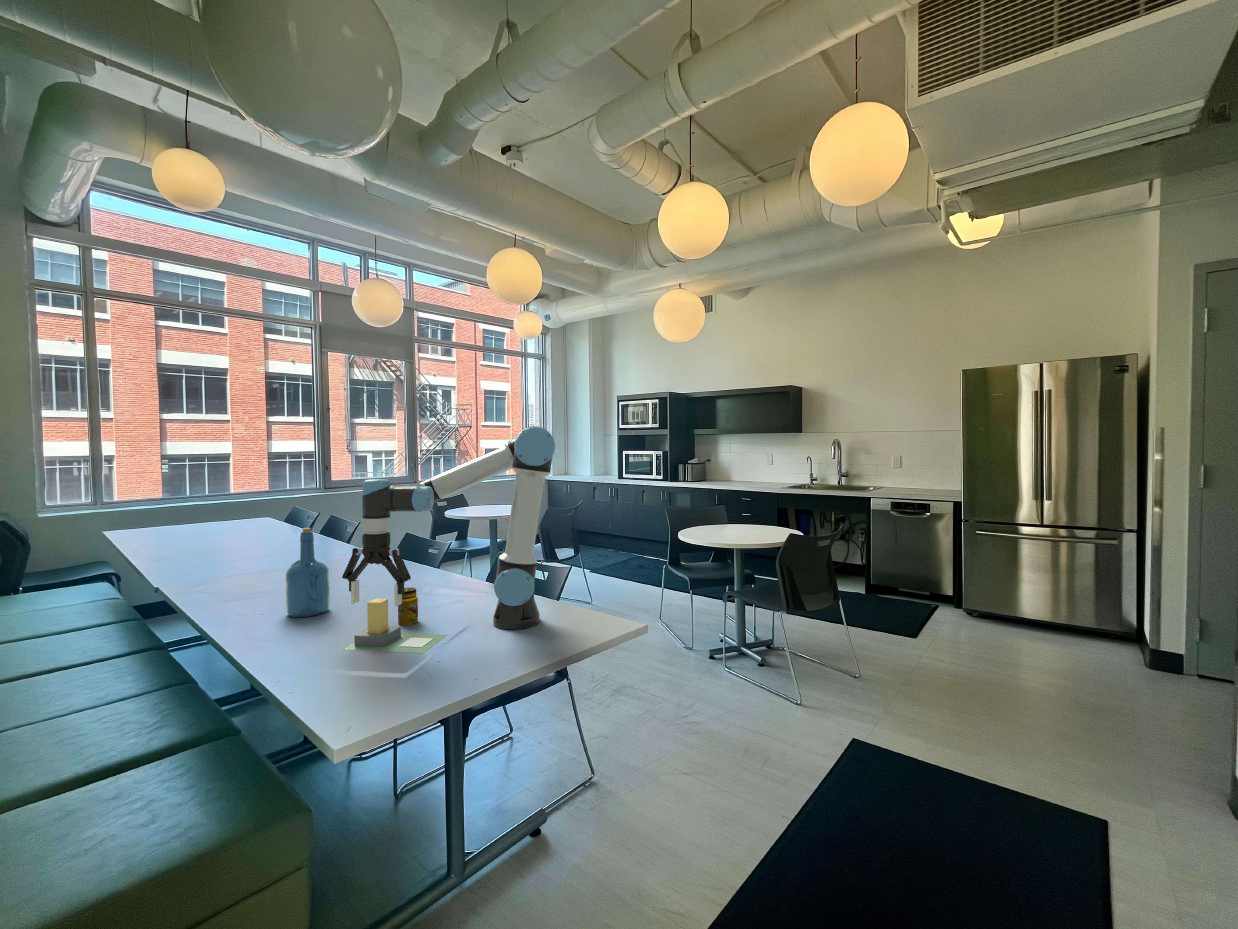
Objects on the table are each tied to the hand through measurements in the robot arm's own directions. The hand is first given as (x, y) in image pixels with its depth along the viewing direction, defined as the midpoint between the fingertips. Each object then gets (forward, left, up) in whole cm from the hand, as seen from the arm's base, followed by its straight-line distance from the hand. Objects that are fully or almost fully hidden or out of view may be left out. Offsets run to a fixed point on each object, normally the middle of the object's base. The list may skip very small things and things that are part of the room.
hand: (376, 603), depth 156 cm
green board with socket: (-6, 0, -12) cm, 14 cm away
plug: (0, 0, -11) cm, 11 cm away
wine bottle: (+43, -26, -12) cm, 51 cm away
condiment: (+1, -17, -12) cm, 21 cm away
